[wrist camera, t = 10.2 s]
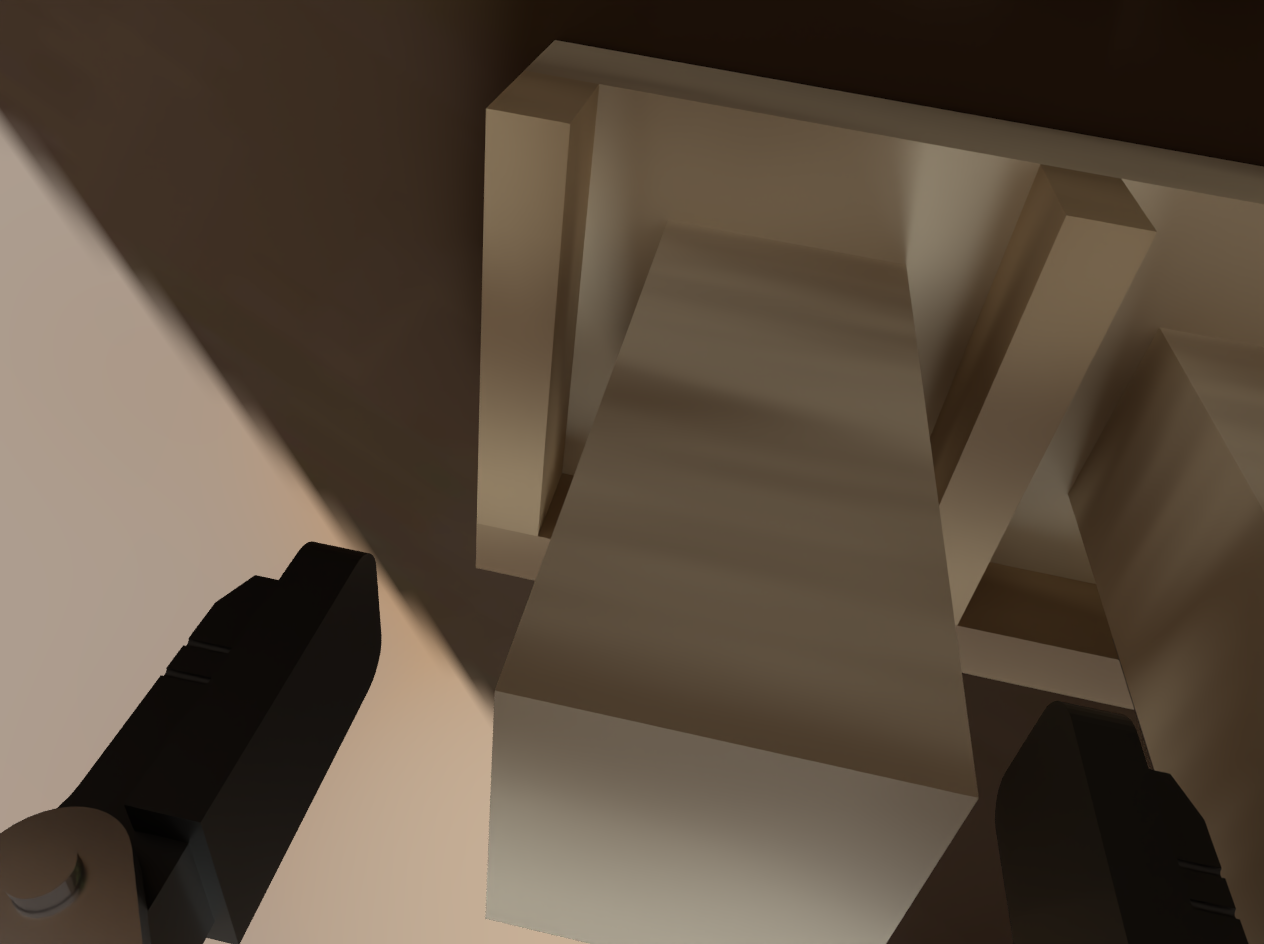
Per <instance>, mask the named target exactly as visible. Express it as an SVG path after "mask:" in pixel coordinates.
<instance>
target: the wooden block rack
mask: <svg viewBox="0 0 1264 944" xmlns="http://www.w3.org/2000/svg"><path fill="white" fill-rule="evenodd" d="M667 221H674V222H679V223H685V224H690V225H695V226H701V227H706V228H711V229H717V230H722V231H727V232H733V233H738V234H743V235H749V236H754V237H759V238H765V239H770V240H775V241H781V242H786V243H792V244H797V245H802V246H808V247H813V248H818V249H824V250H829V251H834V252H840V253H845V254H850V255H856V256H861V257H866V258H872V259H877V260H882V261H888V262H893V263H899V264H904V265H906V267H907V274H908V282H909V289H910V296H911V304H912V311H913V318H914V326H915V333H916V340H917V348H918V355H919V363H920V370H921V377H922V385H923V392H924V399H925V407H926V414H927V421H928V429H929V436H930V443H931V451H932V458H933V466H934V473H935V480H936V488H937V495H938V502H939V510H940V517H941V524H942V532H943V539H944V546H945V554H946V561H947V569H948V576H949V583H950V591H951V598H952V605H953V613H954V620H955V627H956V635H957V642H958V649H959V657H960V664H961V672H962V673H966V674H970V675H975V676H980V677H984V678H989V679H994V680H998V681H1003V682H1008V683H1012V684H1017V685H1021V686H1026V687H1031V688H1035V689H1040V690H1045V691H1049V692H1054V693H1058V694H1063V695H1068V696H1072V697H1077V698H1082V699H1086V700H1091V701H1096V702H1100V703H1105V704H1109V705H1114V706H1119V707H1123V708H1128V709H1133V710H1135V713H1136V716H1137V719H1138V723H1139V726H1140V729H1141V732H1142V735H1143V739H1144V742H1145V745H1146V748H1147V751H1148V755H1149V758H1150V761H1151V764H1152V767H1153V770H1155V771H1160V772H1165V773H1169V774H1171V775H1172V777H1173V778H1174V779H1175V781H1176V782H1177V783H1178V785H1179V786H1180V787H1181V789H1182V790H1183V792H1184V793H1185V794H1186V796H1187V797H1188V798H1189V800H1190V801H1191V802H1192V804H1193V805H1194V806H1195V808H1196V809H1197V810H1198V812H1199V813H1200V814H1201V816H1202V817H1203V819H1204V820H1205V823H1206V826H1207V828H1208V831H1209V834H1210V837H1211V840H1212V842H1213V845H1214V848H1215V851H1216V854H1217V856H1218V859H1219V862H1220V865H1221V868H1222V869H1221V872H1220V874H1221V877H1222V878H1225V879H1226V882H1227V884H1228V887H1229V890H1230V893H1231V896H1232V899H1233V901H1234V904H1235V907H1236V910H1235V917H1236V919H1240V921H1241V924H1242V927H1243V929H1244V932H1245V935H1246V938H1247V941H1248V943H1249V944H1264V167H1263V166H1257V165H1251V164H1246V163H1240V162H1235V161H1229V160H1223V159H1218V158H1212V157H1207V156H1201V155H1195V154H1190V153H1184V152H1179V151H1173V150H1167V149H1162V148H1156V147H1151V146H1145V145H1139V144H1134V143H1128V142H1123V141H1117V140H1111V139H1106V138H1100V137H1095V136H1089V135H1083V134H1078V133H1072V132H1067V131H1061V130H1056V129H1050V128H1044V127H1039V126H1033V125H1028V124H1022V123H1016V122H1011V121H1005V120H1000V119H994V118H988V117H983V116H977V115H972V114H966V113H960V112H955V111H949V110H944V109H938V108H932V107H927V106H921V105H916V104H910V103H904V102H899V101H893V100H888V99H882V98H876V97H871V96H865V95H860V94H854V93H848V92H843V91H837V90H832V89H826V88H820V87H815V86H809V85H804V84H798V83H792V82H787V81H781V80H776V79H770V78H765V77H759V76H753V75H748V74H742V73H737V72H731V71H725V70H720V69H714V68H709V67H703V66H697V65H692V64H686V63H681V62H675V61H669V60H664V59H658V58H653V57H647V56H641V55H636V54H630V53H625V52H619V51H613V50H608V49H602V48H597V47H591V46H585V45H580V44H574V43H569V42H563V41H557V40H554V41H553V42H552V43H551V44H550V45H549V46H548V47H547V48H546V49H545V50H544V51H543V52H542V53H541V54H540V55H539V56H538V57H537V58H536V59H535V60H534V61H533V62H532V63H531V64H530V65H529V66H528V67H527V68H526V69H525V70H524V71H523V72H522V73H521V74H520V75H519V76H518V77H517V78H516V79H515V80H514V81H513V82H512V83H511V84H510V85H509V86H508V87H507V88H506V89H505V90H504V91H503V92H502V93H501V94H500V95H499V96H498V97H497V98H496V99H495V100H494V101H493V102H492V103H491V104H490V105H489V106H488V107H487V108H486V136H485V181H484V226H483V271H482V316H481V361H480V407H479V452H478V497H477V542H476V568H479V569H484V570H489V571H493V572H498V573H503V574H507V575H512V576H517V577H521V578H526V579H530V580H536V577H537V575H538V572H539V569H540V566H541V564H542V561H543V558H544V556H545V553H546V550H547V547H548V545H549V542H550V539H551V537H552V534H553V531H554V528H555V526H556V523H557V520H558V517H559V515H560V512H561V509H562V507H563V504H564V501H565V498H566V496H567V493H568V490H569V488H570V485H571V482H572V479H573V477H574V474H575V471H576V469H577V466H578V463H579V460H580V458H581V455H582V452H583V450H584V447H585V444H586V441H587V439H588V436H589V433H590V431H591V428H592V425H593V422H594V420H595V417H596V414H597V412H598V409H599V406H600V403H601V401H602V398H603V395H604V393H605V390H606V387H607V384H608V382H609V379H610V376H611V373H612V371H613V368H614V365H615V363H616V360H617V357H618V354H619V352H620V349H621V346H622V344H623V341H624V338H625V335H626V333H627V330H628V327H629V325H630V322H631V319H632V316H633V314H634V311H635V308H636V306H637V303H638V300H639V297H640V295H641V292H642V289H643V287H644V284H645V281H646V278H647V276H648V273H649V270H650V268H651V265H652V262H653V259H654V257H655V254H656V251H657V249H658V246H659V243H660V240H661V238H662V235H663V232H664V229H665V227H666V224H667Z"/></svg>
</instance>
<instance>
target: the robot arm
mask: <svg viewBox="0 0 1264 944" xmlns="http://www.w3.org/2000/svg"><path fill="white" fill-rule="evenodd" d="M380 651H381V625H380V611H379V597H378V584H377V571H376V562H375V558H374V557H373V555H372V554H369V553H364V552H360V551H355V550H350V549H345V548H341V547H336V546H331V545H326V544H321V543H317V542H308V543H306V544H305V545H304V546H303V547H302V548H301V549H300V550H299V552H298V553H297V554H296V556H295V557H294V559H293V560H292V562H291V563H290V564H289V566H288V567H287V569H286V570H285V572H284V573H283V575H282V576H281V578H280V579H279V580H275V579H270V578H266V577H261V576H257V575H255V576H253V577H252V578H250V579H249V580H248V581H246V582H245V583H243V584H242V585H240V586H239V587H237V588H236V589H234V590H233V591H231V592H230V593H229V594H227V595H226V596H224V597H223V598H221V599H220V600H218V601H217V602H216V603H215V604H214V605H213V607H212V608H211V609H210V610H209V612H208V613H207V615H206V616H205V617H204V618H203V620H202V621H201V622H200V624H199V625H198V626H197V628H196V629H195V630H194V632H193V633H192V635H191V636H190V637H189V641H188V644H187V645H186V646H183V647H182V648H181V649H180V651H179V652H178V653H177V655H176V656H175V657H174V659H173V660H172V661H171V663H170V664H169V665H168V667H167V671H166V674H165V675H164V676H160V677H159V679H158V680H157V681H156V683H155V684H154V685H153V687H152V688H151V689H150V691H149V692H148V693H147V695H146V696H145V698H144V699H143V700H142V701H141V703H140V704H139V705H138V707H137V708H136V710H135V711H134V712H133V714H132V715H131V716H130V718H129V719H128V720H127V721H126V723H125V724H124V725H123V727H122V728H121V730H120V731H119V732H118V734H117V735H116V736H115V738H114V739H113V740H112V742H111V743H110V745H109V746H108V747H107V748H106V750H105V751H104V752H103V754H102V755H101V756H100V758H99V759H98V760H97V762H96V763H95V764H94V766H93V767H92V768H91V770H90V771H89V772H88V774H87V775H86V776H85V778H84V779H83V780H82V782H81V783H80V784H79V786H78V787H77V788H76V789H75V790H74V792H73V793H72V794H71V795H70V796H69V797H68V798H67V799H66V800H65V801H64V802H63V803H62V804H61V805H60V806H59V807H58V808H56V809H52V810H48V811H44V812H41V813H38V814H36V815H33V816H30V817H28V818H26V819H24V820H22V821H20V822H18V823H16V824H14V825H12V826H11V827H9V828H8V829H6V830H5V831H3V832H2V833H0V944H203V943H204V941H205V939H206V938H210V939H215V940H218V941H223V942H227V943H231V944H240V942H241V940H242V938H243V936H244V934H245V932H246V930H247V928H248V926H249V924H250V922H251V920H252V919H253V917H254V914H255V913H256V911H257V909H258V907H259V905H260V903H261V901H262V899H263V897H264V895H265V893H266V891H267V889H268V887H269V885H270V883H271V881H272V879H273V877H274V875H275V873H276V871H277V869H278V867H279V865H280V863H281V861H282V859H283V857H284V855H285V854H286V851H287V850H288V848H289V846H290V844H291V842H292V840H293V838H294V836H295V834H296V832H297V830H298V828H299V826H300V824H301V822H302V820H303V818H304V816H305V814H306V812H307V810H308V808H309V806H310V804H311V802H312V800H313V798H314V796H315V795H316V793H317V790H318V788H319V787H320V785H321V783H322V781H323V779H324V777H325V775H326V773H327V771H328V769H329V767H330V765H331V763H332V761H333V759H334V757H335V755H336V753H337V751H338V749H339V747H340V745H341V743H342V741H343V739H344V737H345V735H346V733H347V732H348V729H349V728H350V726H351V724H352V722H353V720H354V718H355V715H356V714H357V712H358V710H359V708H360V706H361V704H362V702H363V700H364V698H365V696H366V694H367V692H368V690H369V688H370V686H371V683H372V681H373V678H374V675H375V672H376V669H377V665H378V661H379V656H380ZM995 824H996V834H997V840H998V846H999V853H1000V859H1001V866H1002V872H1003V879H1004V885H1005V892H1006V898H1007V905H1008V911H1009V918H1010V924H1011V930H1012V937H1013V943H1014V944H1249V943H1248V941H1247V938H1246V935H1245V932H1244V929H1243V927H1242V924H1241V921H1240V919H1236V917H1235V910H1236V907H1235V904H1234V901H1233V899H1232V896H1231V893H1230V890H1229V887H1228V884H1227V882H1226V879H1225V878H1222V877H1221V874H1220V872H1221V869H1222V868H1221V865H1220V862H1219V859H1218V856H1217V854H1216V851H1215V848H1214V845H1213V842H1212V840H1211V837H1210V834H1209V831H1208V828H1207V826H1206V823H1205V820H1204V819H1203V817H1202V816H1201V814H1200V813H1199V812H1198V810H1197V809H1196V808H1195V806H1194V805H1193V804H1192V802H1191V801H1190V800H1189V798H1188V797H1187V796H1186V794H1185V793H1184V792H1183V790H1182V789H1181V787H1180V786H1179V785H1178V783H1177V782H1176V781H1175V779H1174V778H1173V777H1172V775H1171V774H1169V773H1165V772H1160V771H1155V770H1151V769H1148V766H1147V763H1146V759H1145V756H1144V753H1143V750H1142V747H1141V744H1140V741H1139V737H1138V734H1137V731H1136V729H1135V726H1134V725H1133V723H1132V721H1131V720H1130V719H1129V718H1128V717H1126V716H1125V715H1122V714H1117V713H1112V712H1108V711H1103V710H1098V709H1093V708H1089V707H1084V706H1079V705H1074V704H1070V703H1065V702H1060V701H1054V702H1052V703H1051V704H1050V705H1048V706H1047V708H1046V709H1045V710H1044V712H1043V714H1042V715H1041V717H1040V718H1039V720H1038V722H1037V723H1036V725H1035V726H1034V728H1033V730H1032V731H1031V733H1030V734H1029V736H1028V737H1027V739H1026V741H1025V742H1024V744H1023V745H1022V747H1021V749H1020V750H1019V752H1018V753H1017V755H1016V757H1015V758H1014V760H1013V761H1012V763H1011V765H1010V766H1009V768H1008V769H1007V771H1006V773H1005V774H1004V776H1003V778H1002V781H1001V784H1000V787H999V790H998V795H997V801H996V810H995Z"/></svg>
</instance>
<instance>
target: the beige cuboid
mask: <svg viewBox="0 0 1264 944" xmlns="http://www.w3.org/2000/svg"><path fill="white" fill-rule="evenodd" d="M978 798H979V797H978V789H977V782H976V775H975V767H974V760H973V752H972V745H971V738H970V730H969V723H968V716H967V708H966V701H965V694H964V686H963V679H962V672H961V664H960V657H959V649H958V642H957V635H956V627H955V620H954V613H953V605H952V598H951V591H950V583H949V576H948V569H947V561H946V554H945V546H944V539H943V532H942V524H941V517H940V510H939V502H938V495H937V488H936V480H935V473H934V466H933V458H932V451H931V443H930V436H929V429H928V421H927V414H926V407H925V399H924V392H923V385H922V377H921V370H920V363H919V355H918V348H917V340H916V333H915V326H914V318H913V311H912V304H911V296H910V289H909V282H908V274H907V267H906V265H904V264H899V263H893V262H888V261H882V260H877V259H872V258H866V257H861V256H856V255H850V254H845V253H840V252H834V251H829V250H824V249H818V248H813V247H808V246H802V245H797V244H792V243H786V242H781V241H775V240H770V239H765V238H759V237H754V236H749V235H743V234H738V233H733V232H727V231H722V230H717V229H711V228H706V227H701V226H695V225H690V224H685V223H679V222H674V221H667V224H666V227H665V229H664V232H663V235H662V238H661V240H660V243H659V246H658V249H657V251H656V254H655V257H654V259H653V262H652V265H651V268H650V270H649V273H648V276H647V278H646V281H645V284H644V287H643V289H642V292H641V295H640V297H639V300H638V303H637V306H636V308H635V311H634V314H633V316H632V319H631V322H630V325H629V327H628V330H627V333H626V335H625V338H624V341H623V344H622V346H621V349H620V352H619V354H618V357H617V360H616V363H615V365H614V368H613V371H612V373H611V376H610V379H609V382H608V384H607V387H606V390H605V393H604V395H603V398H602V401H601V403H600V406H599V409H598V412H597V414H596V417H595V420H594V422H593V425H592V428H591V431H590V433H589V436H588V439H587V441H586V444H585V447H584V450H583V452H582V455H581V458H580V460H579V463H578V466H577V469H576V471H575V474H574V477H573V479H572V482H571V485H570V488H569V490H568V493H567V496H566V498H565V501H564V504H563V507H562V509H561V512H560V515H559V517H558V520H557V523H556V526H555V528H554V531H553V534H552V537H551V539H550V542H549V545H548V547H547V550H546V553H545V556H544V558H543V561H542V564H541V566H540V569H539V572H538V575H537V577H536V580H535V583H534V585H533V588H532V591H531V594H530V596H529V599H528V602H527V604H526V607H525V610H524V613H523V615H522V618H521V621H520V623H519V626H518V629H517V632H516V634H515V637H514V640H513V642H512V645H511V648H510V651H509V653H508V656H507V659H506V662H505V664H504V667H503V670H502V672H501V675H500V678H499V681H498V683H497V686H496V689H495V699H494V723H493V747H492V772H491V796H490V821H489V844H488V845H489V846H488V868H487V892H486V917H485V918H486V919H489V920H493V921H498V922H502V923H506V924H510V925H514V926H519V927H523V928H527V929H531V930H535V931H539V932H544V933H548V934H552V935H556V936H560V937H565V938H569V939H573V940H577V941H581V942H586V943H590V944H886V943H887V941H888V940H889V938H890V937H891V935H892V934H893V932H894V930H895V929H896V927H897V926H898V924H899V923H900V921H901V919H902V918H903V916H904V915H905V913H906V912H907V910H908V908H909V907H910V905H911V904H912V902H913V901H914V899H915V897H916V896H917V894H918V893H919V891H920V890H921V888H922V886H923V885H924V883H925V882H926V880H927V879H928V877H929V875H930V874H931V872H932V871H933V869H934V867H935V866H936V864H937V863H938V861H939V860H940V858H941V856H942V855H943V853H944V852H945V850H946V849H947V847H948V845H949V844H950V842H951V841H952V839H953V838H954V836H955V834H956V833H957V831H958V830H959V828H960V827H961V825H962V823H963V822H964V820H965V819H966V817H967V816H968V814H969V812H970V811H971V809H972V808H973V806H974V805H975V803H976V801H977V800H978Z"/></svg>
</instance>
